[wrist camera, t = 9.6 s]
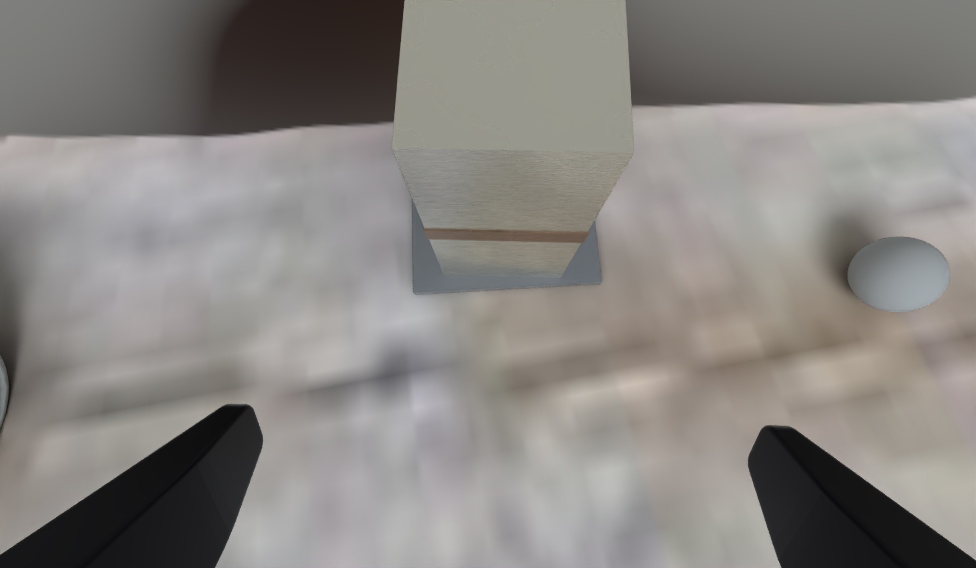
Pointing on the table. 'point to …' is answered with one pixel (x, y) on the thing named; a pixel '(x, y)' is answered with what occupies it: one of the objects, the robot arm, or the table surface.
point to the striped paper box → (512, 127)
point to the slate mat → (434, 281)
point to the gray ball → (898, 274)
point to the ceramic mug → (3, 390)
